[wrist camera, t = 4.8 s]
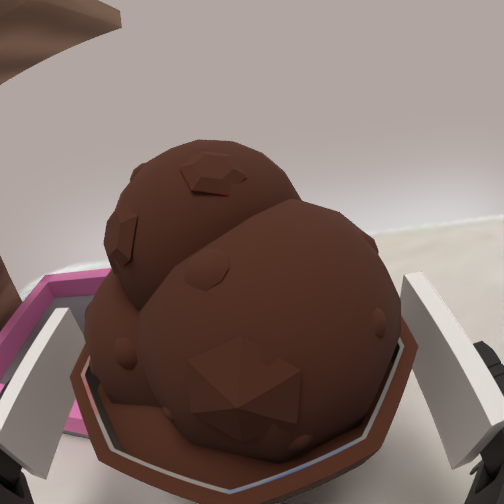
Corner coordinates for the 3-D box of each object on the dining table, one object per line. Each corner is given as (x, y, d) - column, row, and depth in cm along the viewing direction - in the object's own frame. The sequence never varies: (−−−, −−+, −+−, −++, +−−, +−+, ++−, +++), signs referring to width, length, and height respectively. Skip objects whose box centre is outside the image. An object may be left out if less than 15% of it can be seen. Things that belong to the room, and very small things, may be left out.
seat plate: (190, 282, 30) (184, 260, 29) (150, 446, 15) (132, 425, 14) (53, 293, 31) (45, 275, 30) (-20, 407, 16) (-37, 387, 15)
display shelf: (181, 299, 28) (119, 10, 16) (153, 400, 18) (30, -27, 6) (21, 307, 29) (-46, 102, 17) (-26, 374, 19) (-126, 131, 8)
